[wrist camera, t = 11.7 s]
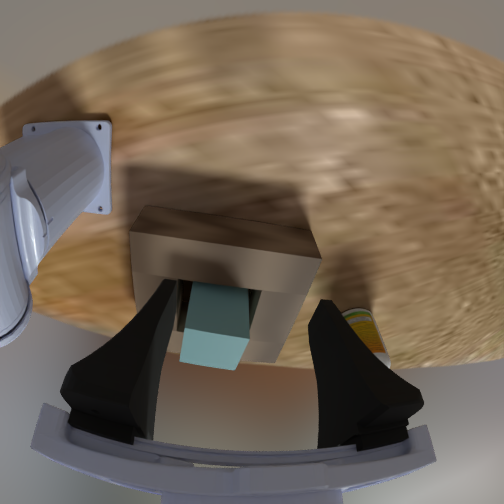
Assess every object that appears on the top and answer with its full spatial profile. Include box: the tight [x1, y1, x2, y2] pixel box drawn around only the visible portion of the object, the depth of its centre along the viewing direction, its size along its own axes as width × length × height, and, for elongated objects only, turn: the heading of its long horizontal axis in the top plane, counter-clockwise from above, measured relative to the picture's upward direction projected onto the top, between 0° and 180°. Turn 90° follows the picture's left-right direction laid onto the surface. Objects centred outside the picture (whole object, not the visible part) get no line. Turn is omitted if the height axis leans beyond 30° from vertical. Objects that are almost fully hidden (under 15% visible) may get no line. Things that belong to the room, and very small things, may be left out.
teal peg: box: [180, 281, 250, 370], centre depth 23 cm, size 5×5×8 cm
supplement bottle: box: [342, 308, 391, 368], centre depth 27 cm, size 5×5×10 cm
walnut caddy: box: [129, 206, 322, 363], centre depth 25 cm, size 14×14×4 cm
